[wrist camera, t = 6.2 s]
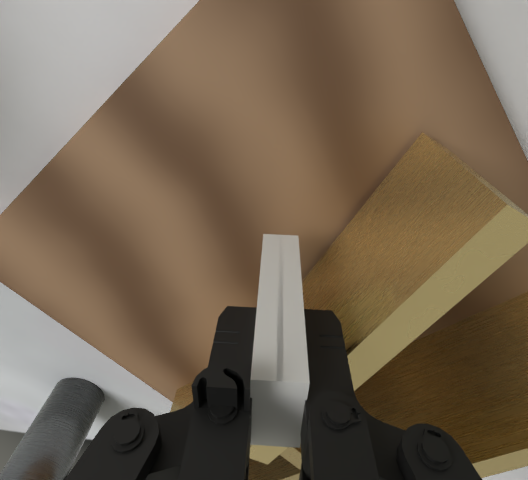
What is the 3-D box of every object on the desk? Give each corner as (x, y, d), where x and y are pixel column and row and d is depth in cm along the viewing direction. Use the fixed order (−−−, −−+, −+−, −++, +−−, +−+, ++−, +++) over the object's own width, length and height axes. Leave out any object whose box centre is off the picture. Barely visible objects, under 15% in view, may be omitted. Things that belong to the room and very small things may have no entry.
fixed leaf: (531, 204, 15) (671, 311, 9) (579, 303, 17) (710, 431, 12) (176, 389, 23) (142, 504, 17) (244, 438, 25) (232, 552, 20)
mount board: (361, -163, 10) (369, -183, 9) (583, 303, 19) (600, 319, 18) (-20, 242, 19) (-38, 255, 18) (249, 437, 27) (247, 454, 26)
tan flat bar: (422, 132, 13) (507, 204, 8) (447, 148, 13) (544, 228, 8) (254, 340, 19) (241, 455, 14) (273, 349, 20) (267, 464, 15)
